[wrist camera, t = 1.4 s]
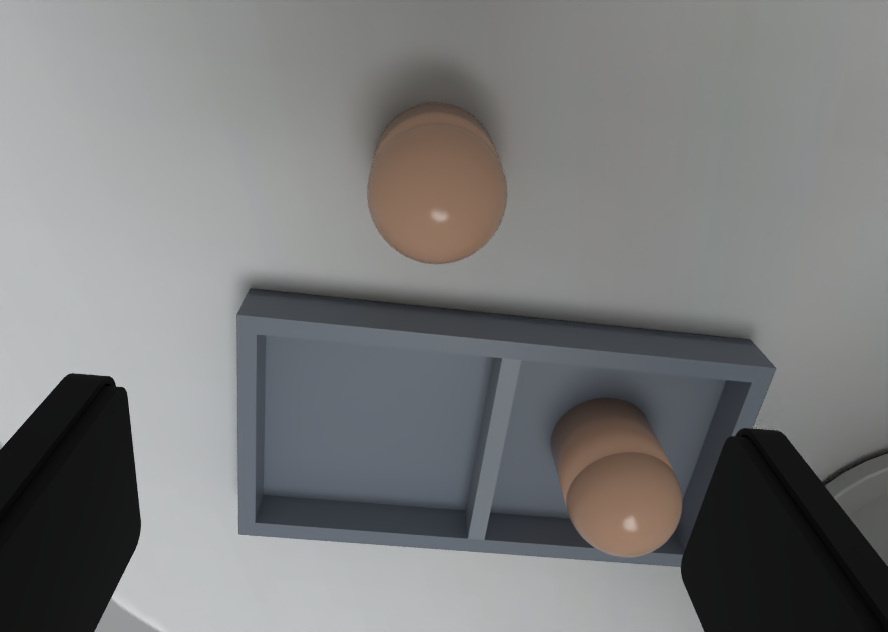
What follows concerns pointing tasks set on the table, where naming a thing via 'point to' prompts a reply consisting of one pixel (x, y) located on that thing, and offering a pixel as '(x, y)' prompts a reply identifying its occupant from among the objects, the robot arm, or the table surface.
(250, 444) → the divided grey tray
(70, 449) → the robot arm
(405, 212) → the egg
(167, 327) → the table surface
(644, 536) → the seated egg
